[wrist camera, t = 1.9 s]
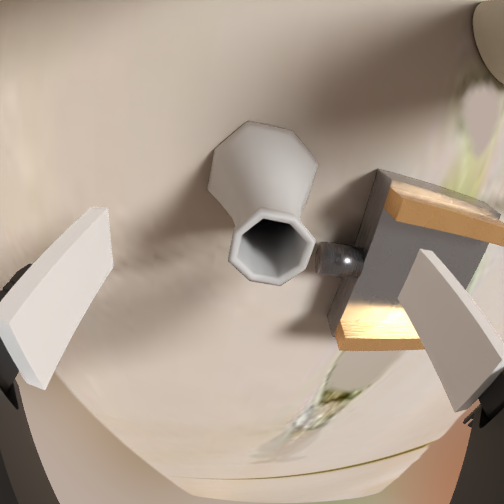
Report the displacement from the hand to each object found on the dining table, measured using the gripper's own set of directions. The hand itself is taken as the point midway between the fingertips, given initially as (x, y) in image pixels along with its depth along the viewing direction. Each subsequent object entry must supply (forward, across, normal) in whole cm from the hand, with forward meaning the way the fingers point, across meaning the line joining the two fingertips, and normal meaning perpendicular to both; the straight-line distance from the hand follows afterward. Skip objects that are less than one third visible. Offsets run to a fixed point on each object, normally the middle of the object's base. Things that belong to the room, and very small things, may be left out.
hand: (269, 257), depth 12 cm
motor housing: (+10, +12, -4) cm, 16 cm away
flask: (+10, 0, +1) cm, 10 cm away
